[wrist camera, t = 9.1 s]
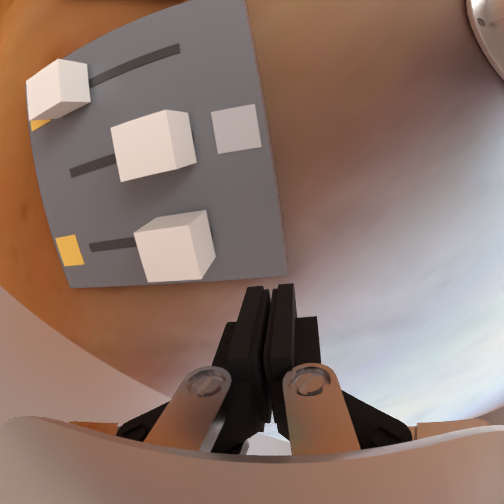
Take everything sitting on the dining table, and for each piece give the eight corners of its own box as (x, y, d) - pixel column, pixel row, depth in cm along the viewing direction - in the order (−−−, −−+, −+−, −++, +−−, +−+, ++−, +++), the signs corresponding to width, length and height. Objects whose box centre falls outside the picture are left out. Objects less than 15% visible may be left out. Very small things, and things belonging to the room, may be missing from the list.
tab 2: (187, 112, 18) (166, 109, 15) (196, 162, 19) (176, 169, 16) (138, 126, 19) (110, 127, 16) (147, 173, 20) (120, 182, 17)
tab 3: (205, 209, 21) (188, 225, 17) (215, 256, 22) (201, 279, 19) (156, 217, 21) (133, 232, 18) (168, 261, 23) (147, 282, 19)
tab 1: (86, 63, 17) (58, 58, 14) (90, 102, 18) (61, 101, 15) (54, 82, 18) (26, 81, 15) (58, 118, 19) (29, 120, 16)
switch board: (245, -2, 16) (240, -13, 14) (288, 264, 24) (287, 276, 22) (38, 84, 20) (24, 84, 18) (81, 279, 28) (69, 288, 26)
